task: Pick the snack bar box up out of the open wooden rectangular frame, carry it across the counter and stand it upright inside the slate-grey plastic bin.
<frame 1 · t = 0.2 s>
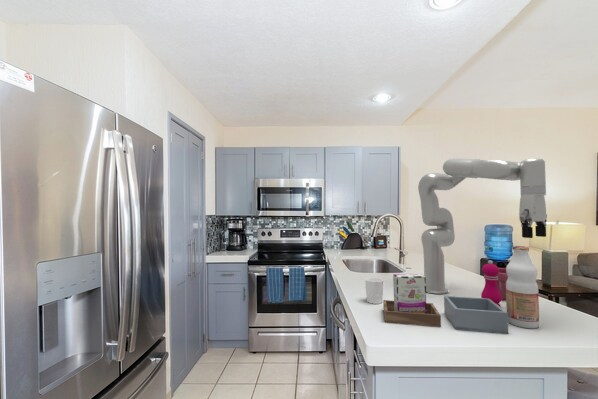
hand: (534, 237, 110), 31 cm above the counter, tool pointing down, fingers open, 9 cm apart
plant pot: (505, 298, 138), on the counter
fruit juice: (522, 324, 106), on the counter
white cup: (374, 302, 132), on the counter
snack bar box: (409, 318, 113), resting in wooden rectangular frame
wooden rectangular frame: (409, 317, 113), on the counter
pepper mill: (491, 308, 124), on the counter
slate bin: (473, 322, 108), on the counter
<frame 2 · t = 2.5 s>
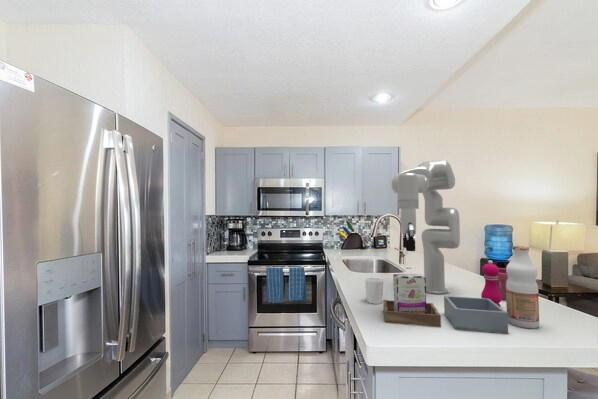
hand: (408, 249, 114), 26 cm above the counter, tool pointing down, fingers open, 9 cm apart
nothing on the counter moved.
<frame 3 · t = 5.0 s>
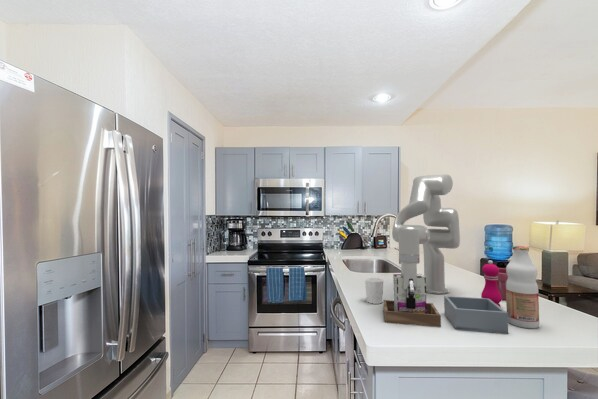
hand: (409, 305, 113), 5 cm above the counter, tool pointing down, fingers closed on snack bar box, 5 cm apart
snack bar box: (409, 318, 113), resting in wooden rectangular frame, touching gripper
everything else where it was.
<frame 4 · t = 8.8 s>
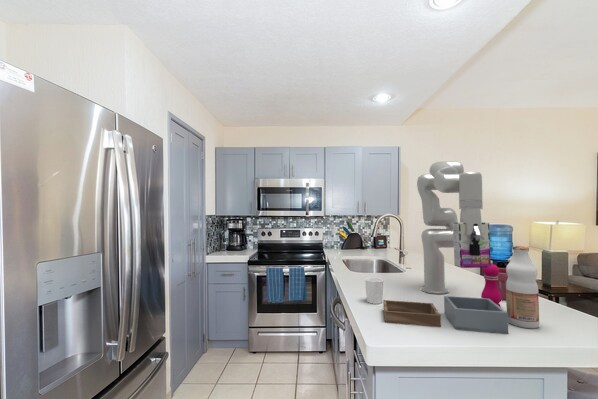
hand: (471, 253, 109), 25 cm above the counter, tool pointing down, fingers closed on snack bar box, 5 cm apart
snack bar box: (471, 267, 108), point 20 cm above the counter, touching gripper
everything else where it was.
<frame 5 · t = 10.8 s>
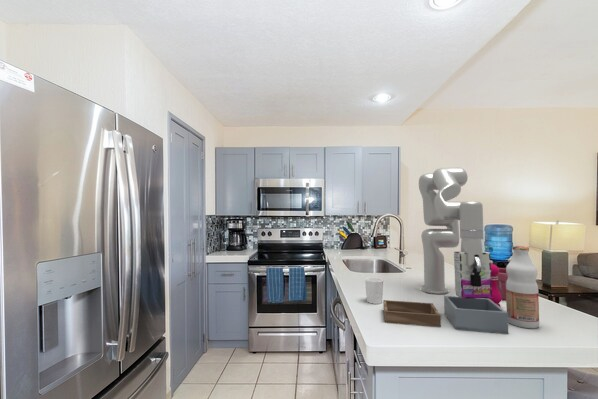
hand: (472, 283, 108), 14 cm above the counter, tool pointing down, fingers closed on snack bar box, 5 cm apart
snack bar box: (472, 297, 108), point 9 cm above the counter, touching gripper
everything else where it was.
when the fingers open (7 cm above the counter, at t = 12.7 s): snack bar box drops 1 cm, resting on slate bin.
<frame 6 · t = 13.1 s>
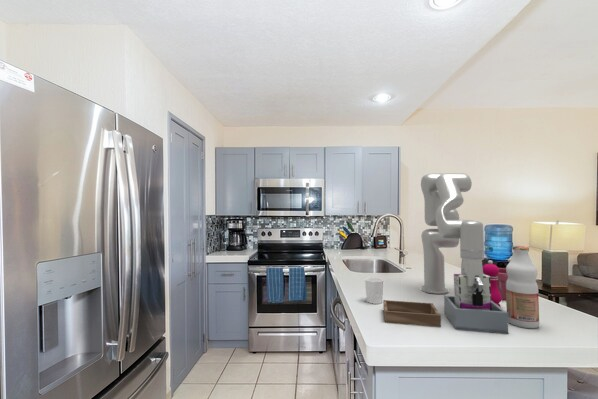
hand: (473, 301, 108), 8 cm above the counter, tool pointing down, fingers open, 9 cm apart
snack bar box: (472, 320, 108), point 1 cm above the counter, touching slate bin
everything else where it was.
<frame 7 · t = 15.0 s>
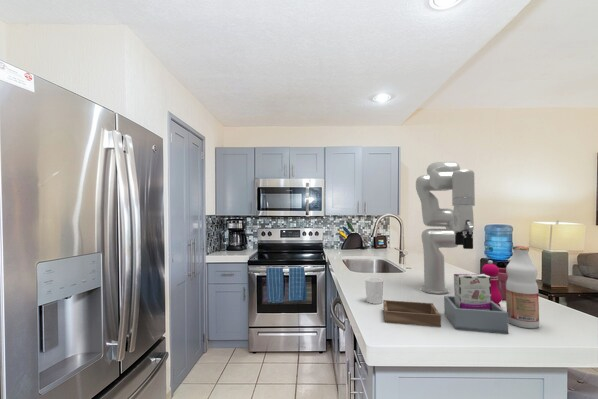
hand: (463, 246, 112), 27 cm above the counter, tool pointing down, fingers open, 9 cm apart
nothing on the counter moved.
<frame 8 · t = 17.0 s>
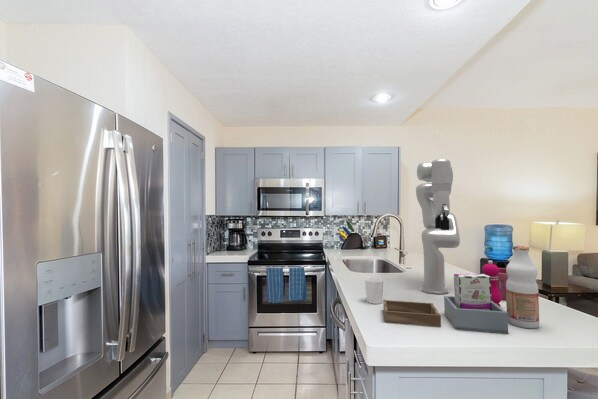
hand: (441, 229, 124), 33 cm above the counter, tool pointing down, fingers open, 9 cm apart
nothing on the counter moved.
at the end: snack bar box inside the target area on the slate bin (0.4 cm from its centre), point 0.8 cm above the slate bin's base; snack bar box tilted 0°; the gripper is holding nothing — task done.
